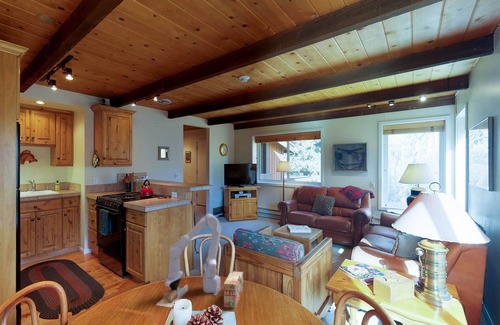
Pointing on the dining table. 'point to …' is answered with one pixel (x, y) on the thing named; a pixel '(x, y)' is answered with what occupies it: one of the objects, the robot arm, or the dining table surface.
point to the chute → (179, 294)
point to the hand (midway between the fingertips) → (174, 293)
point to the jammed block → (170, 296)
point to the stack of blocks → (233, 289)
